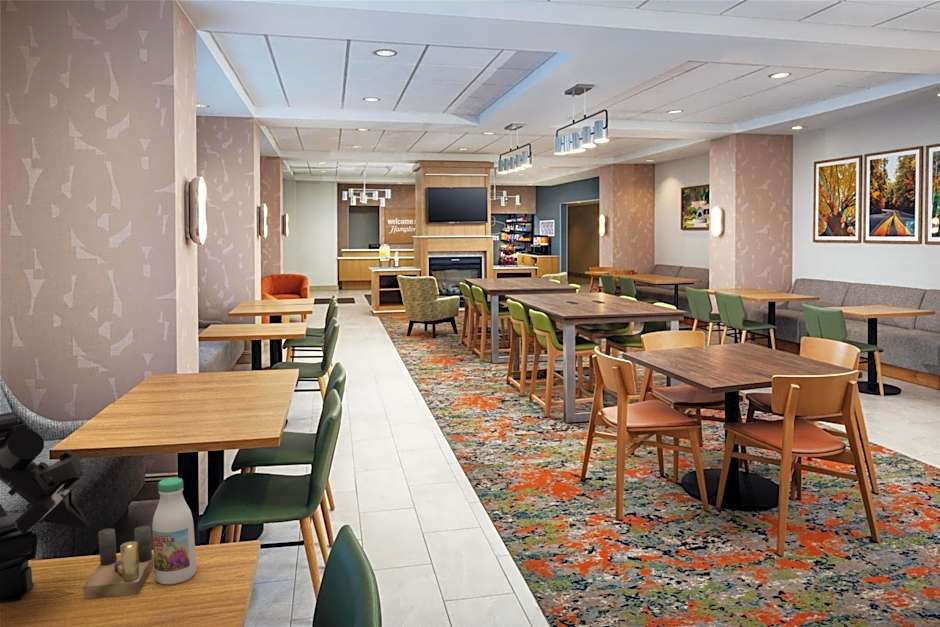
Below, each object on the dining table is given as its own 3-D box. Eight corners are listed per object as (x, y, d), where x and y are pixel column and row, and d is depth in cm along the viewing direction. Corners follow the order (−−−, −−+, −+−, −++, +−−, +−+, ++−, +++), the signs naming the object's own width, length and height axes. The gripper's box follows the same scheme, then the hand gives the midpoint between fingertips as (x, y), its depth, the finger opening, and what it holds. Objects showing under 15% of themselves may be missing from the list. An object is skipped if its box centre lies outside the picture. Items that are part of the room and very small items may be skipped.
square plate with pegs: (83, 599, 134) (80, 553, 133) (104, 571, 146) (101, 529, 145) (138, 594, 136) (136, 549, 135) (155, 566, 147) (152, 524, 146)
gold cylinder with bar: (114, 572, 138) (112, 540, 138) (130, 567, 141) (128, 536, 140) (126, 582, 134) (124, 549, 134) (142, 576, 137) (140, 544, 136)
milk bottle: (167, 567, 147) (162, 474, 145) (203, 568, 146) (198, 474, 144) (147, 584, 139) (141, 486, 137) (184, 586, 139) (179, 487, 137)
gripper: (31, 461, 123) (101, 518, 127) (70, 428, 141) (131, 479, 145) (-17, 505, 123) (55, 562, 126) (29, 466, 141) (91, 516, 144)
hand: (86, 526), depth 135 cm, fingers closed
